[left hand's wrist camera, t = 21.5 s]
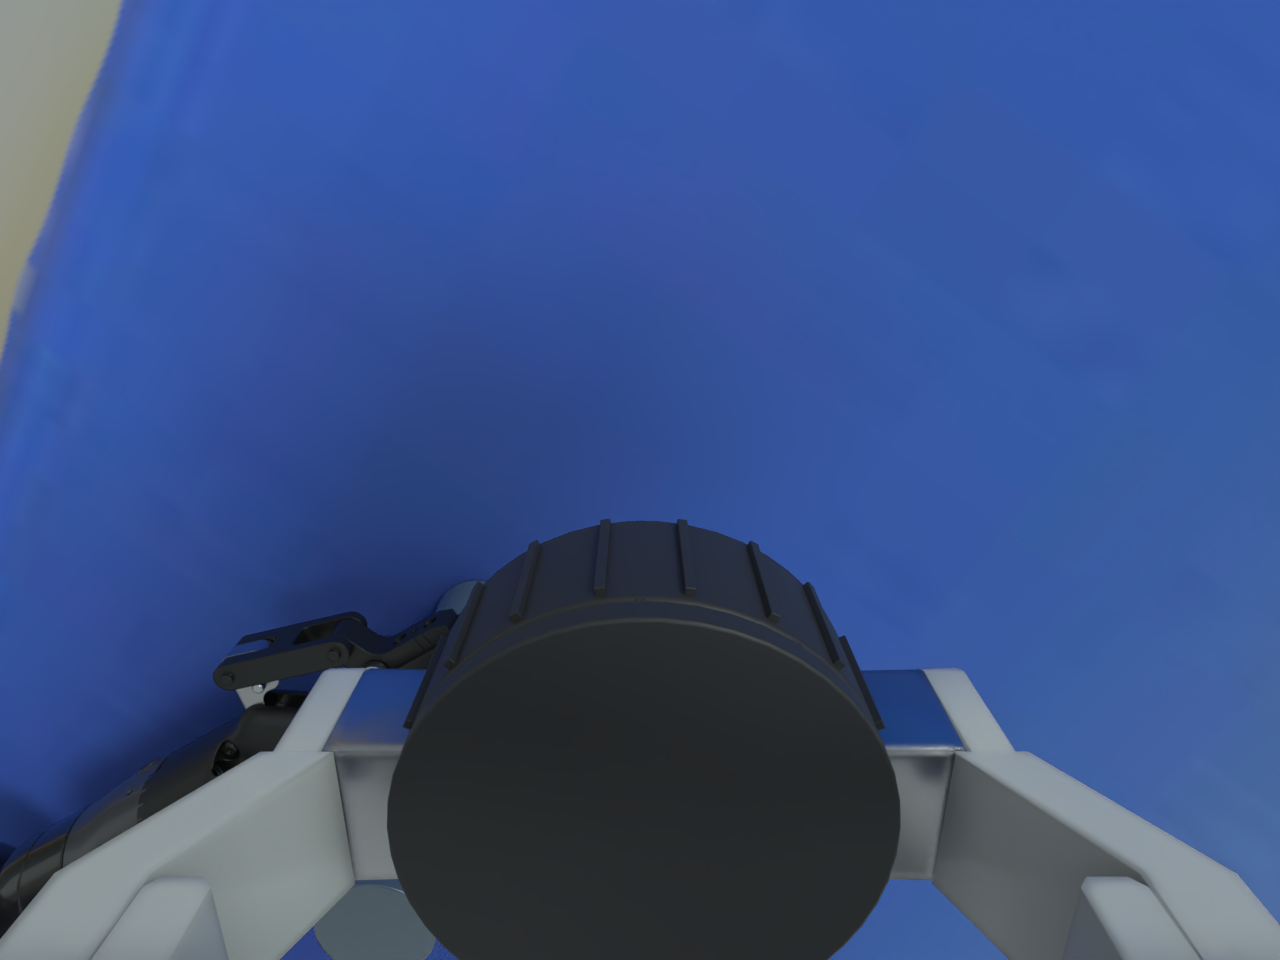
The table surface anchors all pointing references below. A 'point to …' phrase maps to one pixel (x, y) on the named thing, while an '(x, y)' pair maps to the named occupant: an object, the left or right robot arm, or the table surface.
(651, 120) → the table surface
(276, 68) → the table surface
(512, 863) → the lid
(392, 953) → the grey cylinder
